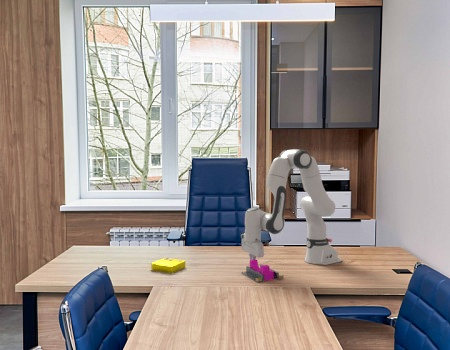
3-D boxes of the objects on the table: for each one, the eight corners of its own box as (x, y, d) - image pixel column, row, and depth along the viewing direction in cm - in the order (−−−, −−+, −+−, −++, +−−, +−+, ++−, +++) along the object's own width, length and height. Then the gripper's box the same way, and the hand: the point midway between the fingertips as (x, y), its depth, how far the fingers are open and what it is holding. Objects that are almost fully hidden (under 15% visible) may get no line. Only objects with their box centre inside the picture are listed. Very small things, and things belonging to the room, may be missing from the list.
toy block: (273, 279, 246) (273, 265, 245) (263, 281, 243) (263, 266, 243) (259, 272, 259) (259, 258, 259) (249, 273, 257) (249, 260, 256)
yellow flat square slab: (149, 270, 263) (149, 262, 263) (165, 264, 276) (165, 256, 276) (171, 274, 256) (171, 265, 256) (186, 267, 269) (186, 259, 269)
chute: (266, 269, 263) (266, 263, 263) (283, 278, 247) (283, 272, 246) (241, 273, 256) (241, 267, 256) (257, 282, 240) (257, 275, 240)
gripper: (266, 240, 252) (266, 265, 253) (249, 233, 270) (249, 256, 271) (256, 241, 249) (256, 267, 250) (239, 234, 268) (239, 258, 269)
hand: (252, 261), depth 261 cm, fingers closed
